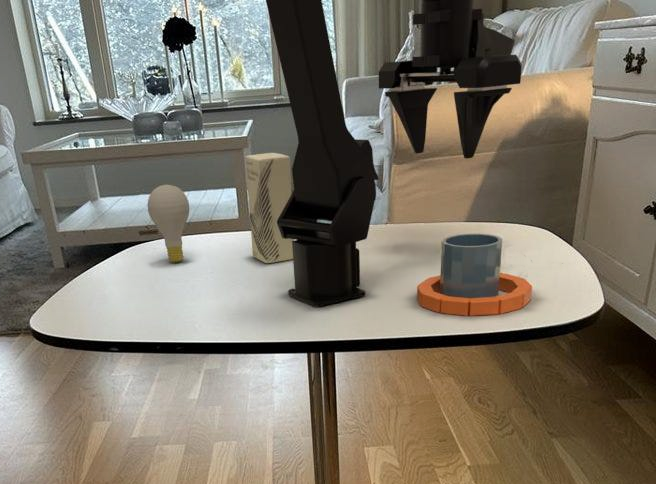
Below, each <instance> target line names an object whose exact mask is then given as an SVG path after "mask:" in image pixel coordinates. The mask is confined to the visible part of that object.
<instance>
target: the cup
mask: <svg viewBox="0 0 656 484" xmlns="http://www.w3.org/2000/svg"><path fill="white" fill-rule="evenodd" d="M440 247H441V249H440V275H441V276H440V292H439V293H440V294H443V295H446V296H450V297H461V298H484V297H495V296H499V293H500V290H499V281H500V273H501V264H502V251H503V238H502V237H501V236H498V235H494V234H489V233H488V234H486V233H461V234H454V235H449V236H447V237H444V238H443V239H442V240H441V246H440Z"/></svg>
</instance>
